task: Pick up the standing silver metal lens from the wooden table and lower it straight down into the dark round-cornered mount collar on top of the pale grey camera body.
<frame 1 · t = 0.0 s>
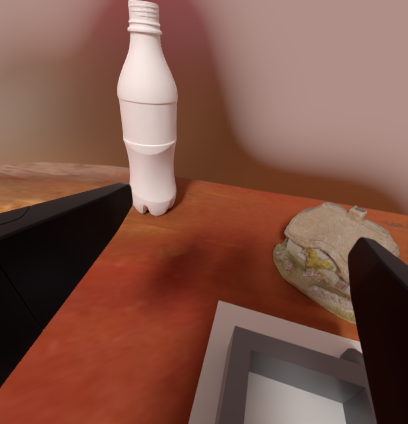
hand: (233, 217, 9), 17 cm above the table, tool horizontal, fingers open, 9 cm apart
ceramic model: (322, 273, 29), on the table
water bottle: (154, 207, 37), on the table
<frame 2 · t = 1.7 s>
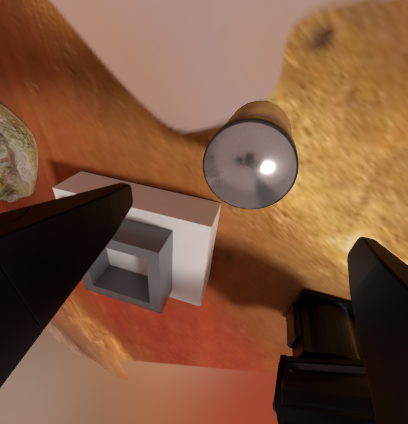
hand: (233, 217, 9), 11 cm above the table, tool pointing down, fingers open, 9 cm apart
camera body: (150, 229, 27), on the table
ceramic model: (0, 150, 27), on the table
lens: (257, 135, 18), on the table
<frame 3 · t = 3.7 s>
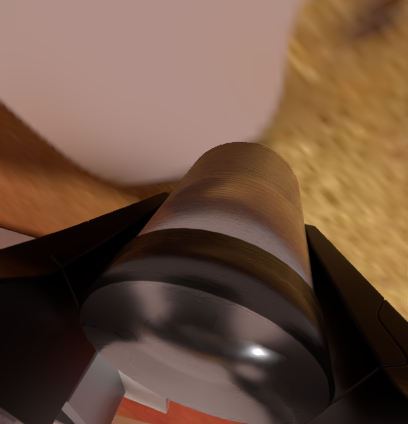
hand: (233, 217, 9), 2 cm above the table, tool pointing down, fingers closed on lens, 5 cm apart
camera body: (97, 300, 19), on the table
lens: (239, 197, 10), on the table, touching gripper
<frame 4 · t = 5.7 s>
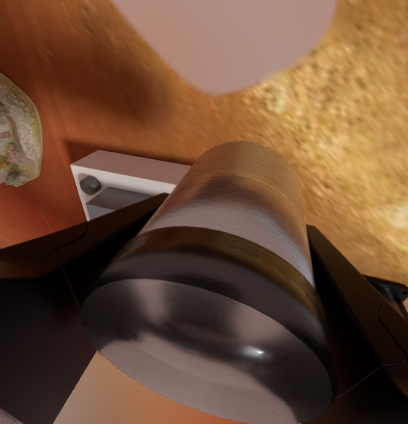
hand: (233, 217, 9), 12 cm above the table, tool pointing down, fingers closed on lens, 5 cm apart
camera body: (172, 212, 25), on the table
ceramic model: (3, 129, 26), on the table
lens: (239, 196, 10), point 10 cm above the table, touching gripper
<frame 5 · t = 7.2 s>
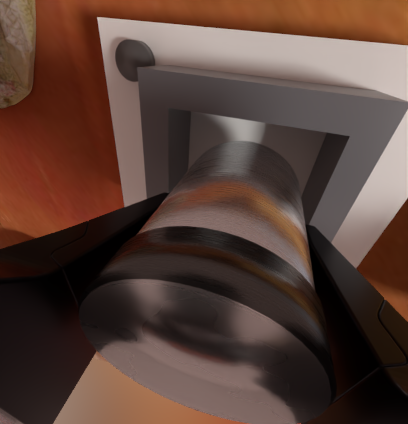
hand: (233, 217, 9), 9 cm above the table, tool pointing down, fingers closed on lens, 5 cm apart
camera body: (251, 147, 16), on the table
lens: (239, 196, 10), point 7 cm above the table, touching gripper
when the fingers open (8 cm above the table, at t = 8.2 s): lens drops 2 cm, resting on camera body.
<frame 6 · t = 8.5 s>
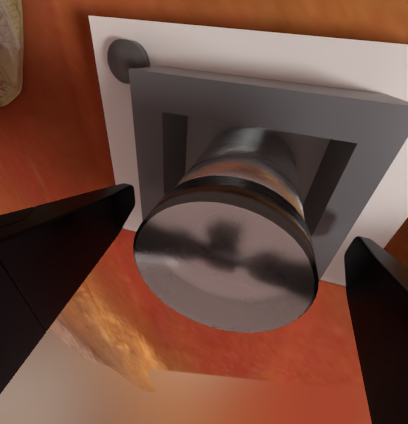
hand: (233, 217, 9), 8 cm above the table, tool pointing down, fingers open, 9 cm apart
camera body: (251, 151, 15), on the table
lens: (245, 175, 12), point 4 cm above the table, touching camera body
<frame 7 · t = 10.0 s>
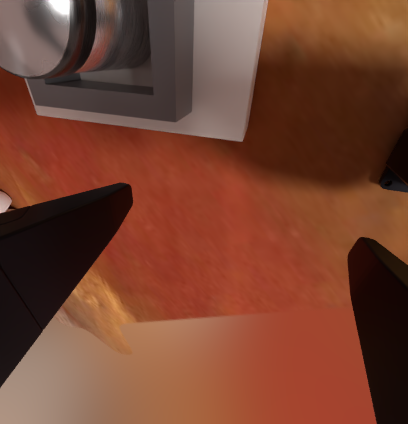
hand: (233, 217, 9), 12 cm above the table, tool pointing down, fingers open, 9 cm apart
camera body: (148, 25, 16), on the table
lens: (117, 16, 13), point 4 cm above the table, touching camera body
water bottle: (3, 202, 32), on the table
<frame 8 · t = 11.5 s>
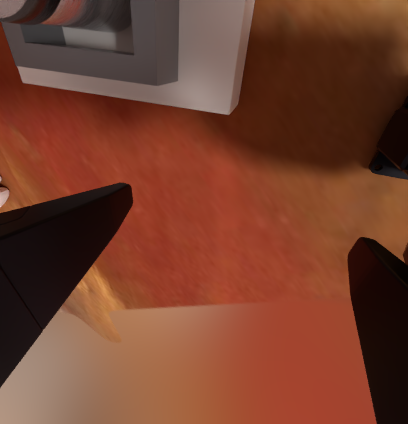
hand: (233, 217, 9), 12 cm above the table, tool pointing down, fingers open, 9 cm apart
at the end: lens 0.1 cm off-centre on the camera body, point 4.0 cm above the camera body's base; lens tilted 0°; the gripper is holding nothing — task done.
